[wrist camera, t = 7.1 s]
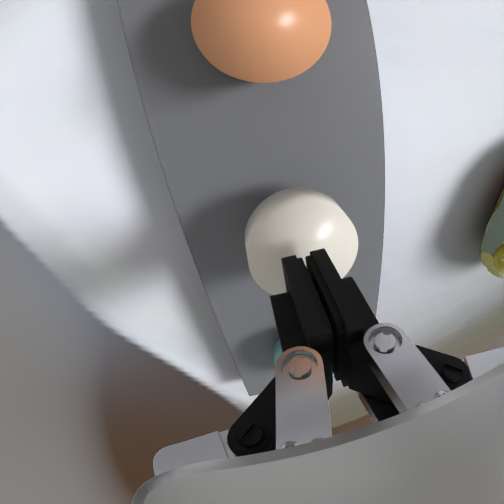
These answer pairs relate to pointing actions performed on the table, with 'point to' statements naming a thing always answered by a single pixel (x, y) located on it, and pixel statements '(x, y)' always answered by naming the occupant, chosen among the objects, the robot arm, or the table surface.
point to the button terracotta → (261, 36)
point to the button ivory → (297, 234)
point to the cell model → (494, 241)
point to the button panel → (260, 155)
